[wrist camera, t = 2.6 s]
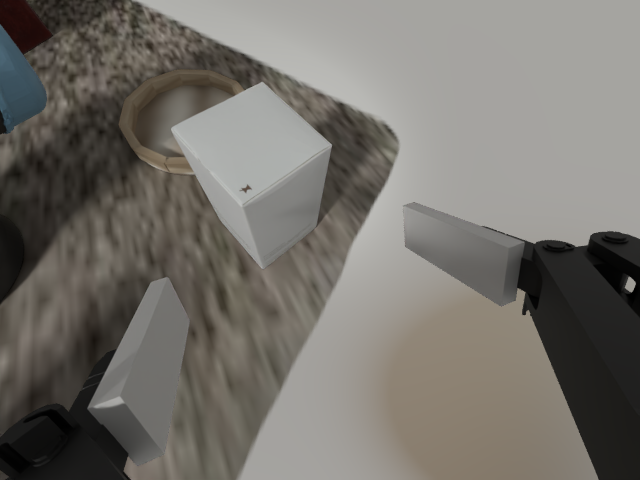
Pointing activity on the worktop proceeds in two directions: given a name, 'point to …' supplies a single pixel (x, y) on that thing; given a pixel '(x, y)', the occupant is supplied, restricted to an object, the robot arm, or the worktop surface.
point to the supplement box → (258, 169)
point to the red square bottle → (22, 24)
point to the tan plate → (170, 113)
